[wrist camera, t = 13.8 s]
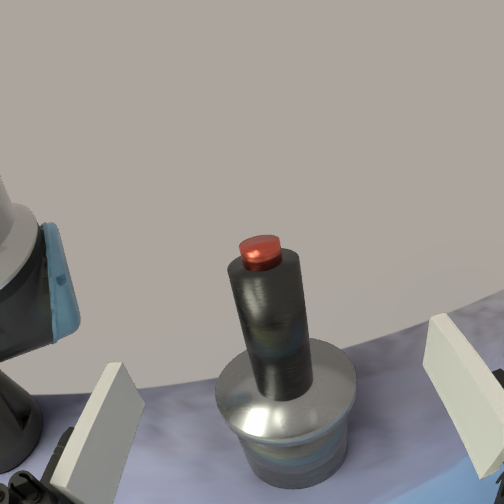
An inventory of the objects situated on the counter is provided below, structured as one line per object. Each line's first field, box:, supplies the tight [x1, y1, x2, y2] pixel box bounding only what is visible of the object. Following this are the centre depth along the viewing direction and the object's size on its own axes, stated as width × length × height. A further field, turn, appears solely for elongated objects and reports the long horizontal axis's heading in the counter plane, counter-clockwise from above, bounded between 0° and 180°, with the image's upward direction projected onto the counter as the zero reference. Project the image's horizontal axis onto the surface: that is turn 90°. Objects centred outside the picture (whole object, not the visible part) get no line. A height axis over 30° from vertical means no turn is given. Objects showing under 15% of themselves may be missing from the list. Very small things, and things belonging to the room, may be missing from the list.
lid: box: [215, 235, 356, 447], centre depth 20 cm, size 10×10×12 cm
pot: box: [238, 415, 348, 489], centre depth 23 cm, size 9×9×8 cm
